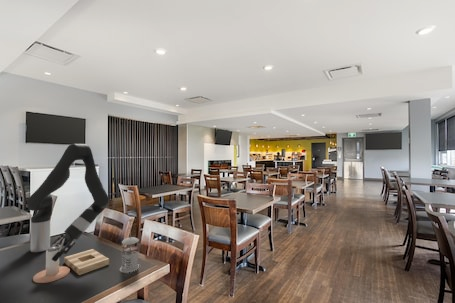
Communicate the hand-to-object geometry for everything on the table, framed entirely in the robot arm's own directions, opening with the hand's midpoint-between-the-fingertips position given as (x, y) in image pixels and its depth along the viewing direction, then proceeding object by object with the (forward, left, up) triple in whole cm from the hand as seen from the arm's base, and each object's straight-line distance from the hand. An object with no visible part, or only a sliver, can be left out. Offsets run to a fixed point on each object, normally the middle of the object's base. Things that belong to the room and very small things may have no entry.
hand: (50, 257), depth 112 cm
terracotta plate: (0, +1, -8) cm, 8 cm away
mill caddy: (0, +16, -8) cm, 18 cm away
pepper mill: (0, +1, -8) cm, 8 cm away
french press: (+21, +28, -9) cm, 36 cm away
